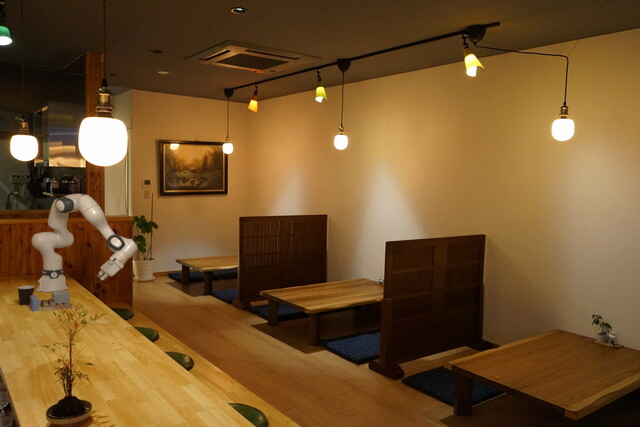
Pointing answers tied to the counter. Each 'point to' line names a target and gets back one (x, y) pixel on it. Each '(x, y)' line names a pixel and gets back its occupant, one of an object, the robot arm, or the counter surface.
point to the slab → (60, 296)
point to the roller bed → (53, 305)
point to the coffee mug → (25, 294)
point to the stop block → (34, 303)
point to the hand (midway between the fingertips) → (99, 278)
